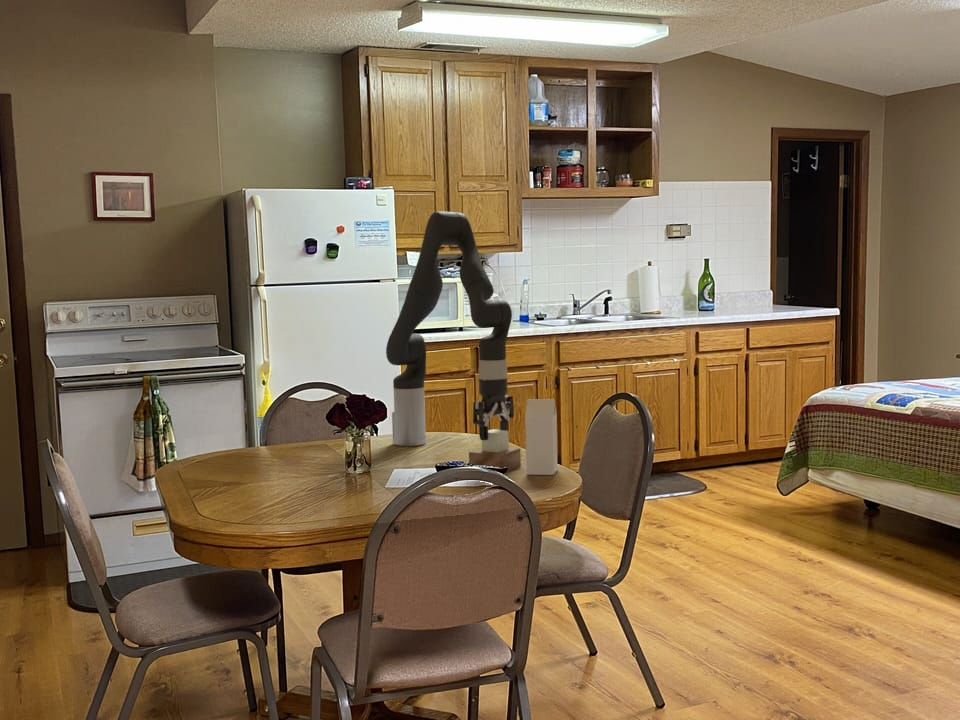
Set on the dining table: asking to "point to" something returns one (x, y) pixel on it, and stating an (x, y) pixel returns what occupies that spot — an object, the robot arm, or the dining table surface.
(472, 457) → the walnut block
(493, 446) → the sage cube
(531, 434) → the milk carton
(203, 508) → the dining table surface
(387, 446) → the dining table surface
